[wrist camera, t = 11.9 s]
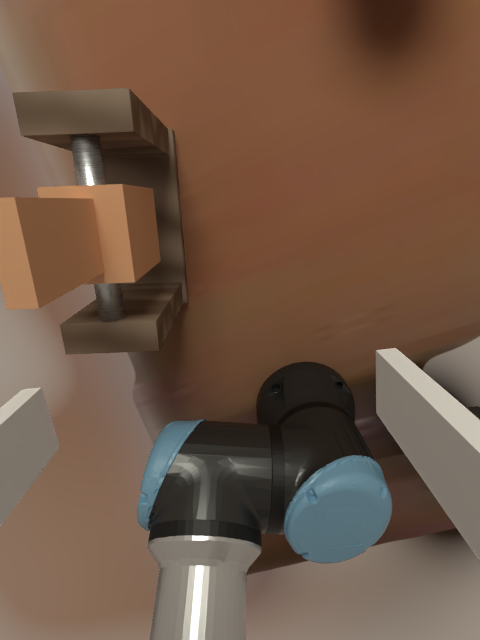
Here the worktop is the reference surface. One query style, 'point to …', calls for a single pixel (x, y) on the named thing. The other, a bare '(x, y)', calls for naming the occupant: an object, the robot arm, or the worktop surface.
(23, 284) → the tan joined planks
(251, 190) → the worktop surface
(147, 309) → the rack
